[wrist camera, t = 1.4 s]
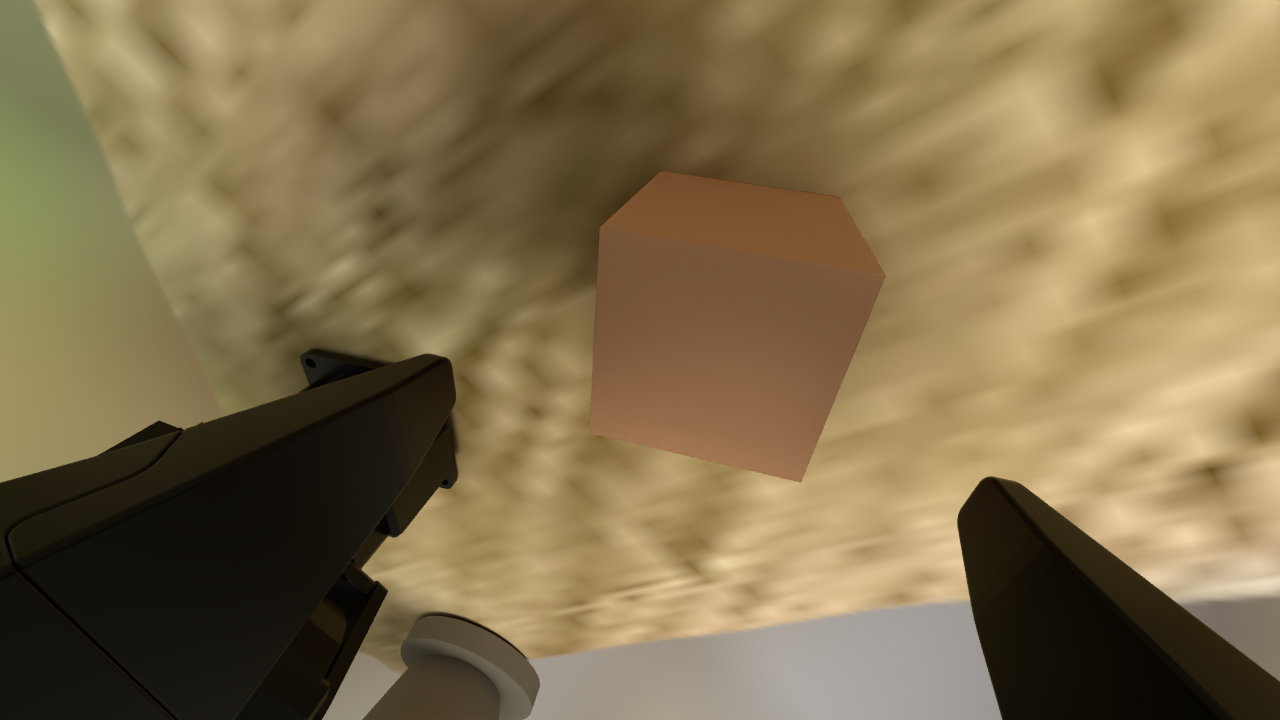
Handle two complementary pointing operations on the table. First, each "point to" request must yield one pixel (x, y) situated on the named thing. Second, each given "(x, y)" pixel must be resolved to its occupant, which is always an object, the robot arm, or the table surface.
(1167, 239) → the table surface
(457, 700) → the vase
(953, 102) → the table surface
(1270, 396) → the table surface
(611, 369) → the terracotta block
